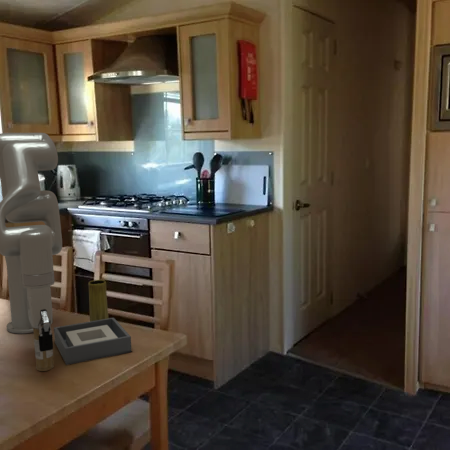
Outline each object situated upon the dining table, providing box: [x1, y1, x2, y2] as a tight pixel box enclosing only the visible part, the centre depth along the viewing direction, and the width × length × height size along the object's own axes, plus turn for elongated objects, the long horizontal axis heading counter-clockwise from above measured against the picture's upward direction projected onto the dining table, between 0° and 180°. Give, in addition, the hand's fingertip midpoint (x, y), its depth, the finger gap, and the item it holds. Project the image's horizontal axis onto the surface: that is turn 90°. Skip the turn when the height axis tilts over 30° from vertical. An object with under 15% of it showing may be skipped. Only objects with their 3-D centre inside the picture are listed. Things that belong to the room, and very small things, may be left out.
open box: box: [53, 317, 132, 366], centre depth 153 cm, size 18×18×4 cm
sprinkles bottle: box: [33, 322, 55, 372], centre depth 139 cm, size 5×5×13 cm
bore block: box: [66, 325, 118, 347], centre depth 153 cm, size 12×12×3 cm
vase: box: [87, 279, 109, 322], centre depth 169 cm, size 6×6×14 cm
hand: (43, 344), depth 138 cm, fingers open, 9 cm apart
